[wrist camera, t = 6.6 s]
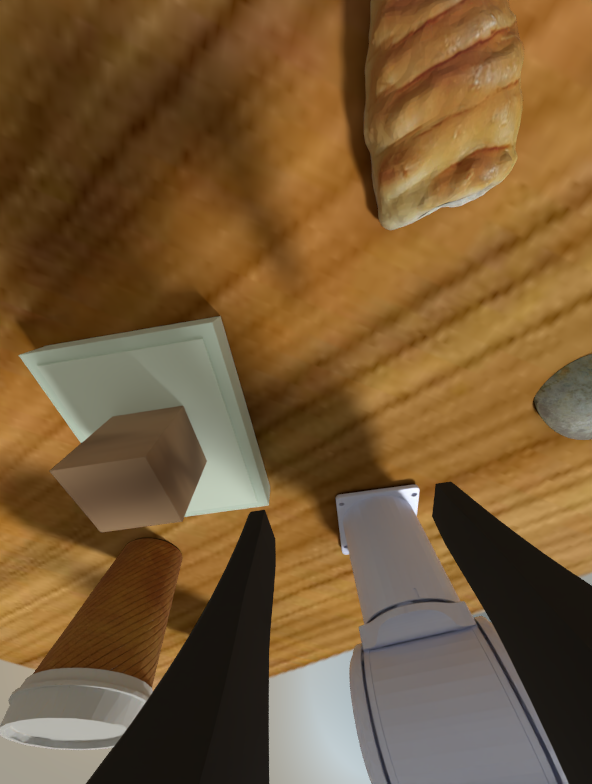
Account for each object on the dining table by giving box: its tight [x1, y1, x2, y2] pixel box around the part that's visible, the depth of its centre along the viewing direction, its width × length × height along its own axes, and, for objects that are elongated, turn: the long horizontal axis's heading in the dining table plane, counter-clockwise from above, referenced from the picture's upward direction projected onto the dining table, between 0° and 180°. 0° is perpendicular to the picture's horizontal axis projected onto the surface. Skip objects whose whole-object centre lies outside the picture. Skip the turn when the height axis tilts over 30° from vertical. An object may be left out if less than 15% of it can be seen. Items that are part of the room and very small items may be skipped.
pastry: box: [364, 0, 524, 230], centre depth 11 cm, size 9×7×4 cm
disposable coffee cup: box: [0, 538, 182, 750], centre depth 22 cm, size 10×10×12 cm
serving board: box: [19, 316, 270, 517], centre depth 19 cm, size 16×12×2 cm
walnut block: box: [50, 406, 207, 532], centre depth 16 cm, size 5×5×5 cm
